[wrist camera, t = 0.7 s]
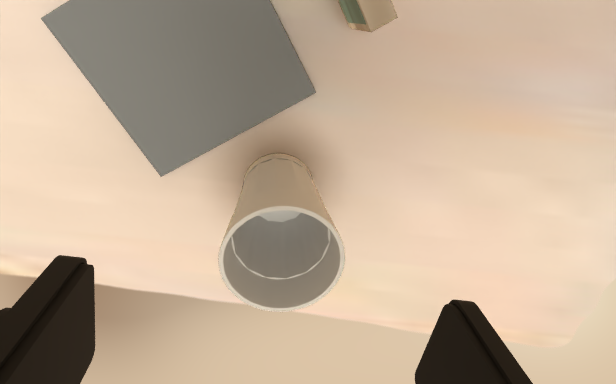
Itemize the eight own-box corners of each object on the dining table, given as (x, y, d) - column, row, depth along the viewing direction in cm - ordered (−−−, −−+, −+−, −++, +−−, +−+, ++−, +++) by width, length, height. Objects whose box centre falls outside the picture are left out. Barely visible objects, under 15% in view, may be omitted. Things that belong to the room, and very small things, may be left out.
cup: (217, 168, 34) (193, 240, 23) (299, 129, 33) (313, 184, 23) (259, 237, 38) (256, 328, 27) (335, 203, 37) (363, 282, 26)
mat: (222, -93, 27) (221, -96, 26) (315, 91, 32) (316, 92, 32) (45, 18, 28) (40, 18, 28) (162, 174, 34) (161, 176, 33)
